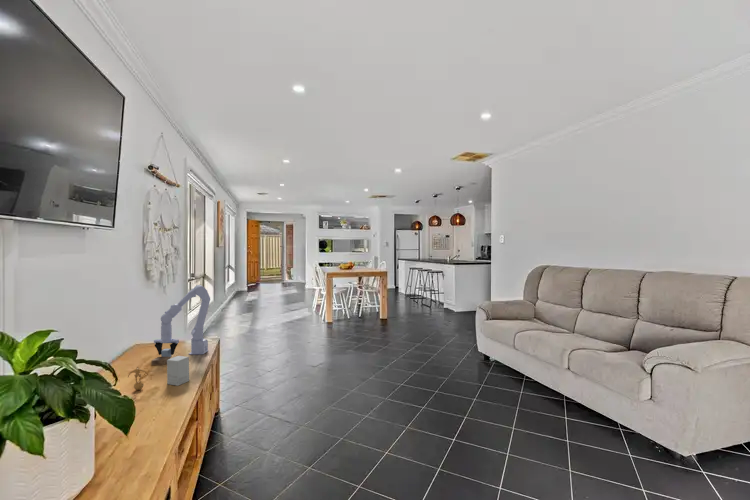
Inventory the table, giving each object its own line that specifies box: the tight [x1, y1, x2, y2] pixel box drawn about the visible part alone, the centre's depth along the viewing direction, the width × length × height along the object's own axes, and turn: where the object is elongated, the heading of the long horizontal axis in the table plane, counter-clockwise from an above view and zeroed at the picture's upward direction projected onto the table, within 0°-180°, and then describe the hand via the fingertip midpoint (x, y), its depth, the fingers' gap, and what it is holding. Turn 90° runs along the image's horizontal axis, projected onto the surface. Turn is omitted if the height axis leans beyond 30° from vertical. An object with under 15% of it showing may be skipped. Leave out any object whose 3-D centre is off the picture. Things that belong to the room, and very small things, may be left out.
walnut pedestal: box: [151, 356, 171, 366], centre depth 214 cm, size 7×7×3 cm
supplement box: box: [166, 355, 190, 387], centre depth 184 cm, size 7×7×13 cm
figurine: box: [127, 366, 149, 391], centre depth 173 cm, size 8×6×12 cm
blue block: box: [160, 348, 173, 358], centre depth 224 cm, size 4×4×5 cm
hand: (166, 354), depth 224 cm, fingers open, 7 cm apart
